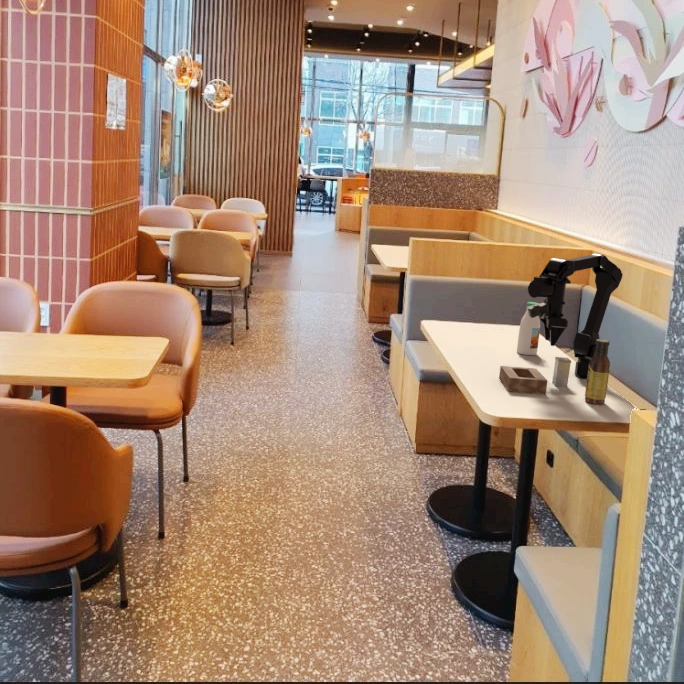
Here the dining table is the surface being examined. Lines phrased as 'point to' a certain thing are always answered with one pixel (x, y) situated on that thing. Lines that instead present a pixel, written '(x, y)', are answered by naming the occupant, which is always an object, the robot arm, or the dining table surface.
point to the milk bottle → (528, 333)
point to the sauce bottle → (598, 374)
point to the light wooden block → (561, 371)
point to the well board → (523, 379)
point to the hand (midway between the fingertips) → (549, 342)
